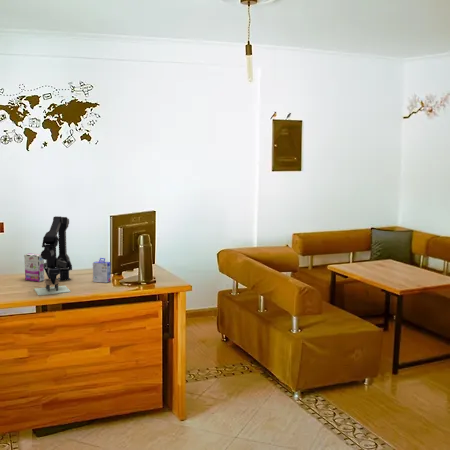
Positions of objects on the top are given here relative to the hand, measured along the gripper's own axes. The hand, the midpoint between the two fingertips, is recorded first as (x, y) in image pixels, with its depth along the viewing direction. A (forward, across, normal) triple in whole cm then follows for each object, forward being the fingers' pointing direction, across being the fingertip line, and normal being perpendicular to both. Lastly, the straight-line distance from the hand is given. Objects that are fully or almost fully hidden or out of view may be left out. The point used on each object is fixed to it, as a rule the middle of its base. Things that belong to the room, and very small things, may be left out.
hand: (52, 282), depth 341 cm
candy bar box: (+5, +29, +5) cm, 30 cm away
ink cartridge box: (+5, +10, -32) cm, 34 cm away
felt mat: (+5, 0, 0) cm, 5 cm away
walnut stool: (+4, 0, 0) cm, 4 cm away
